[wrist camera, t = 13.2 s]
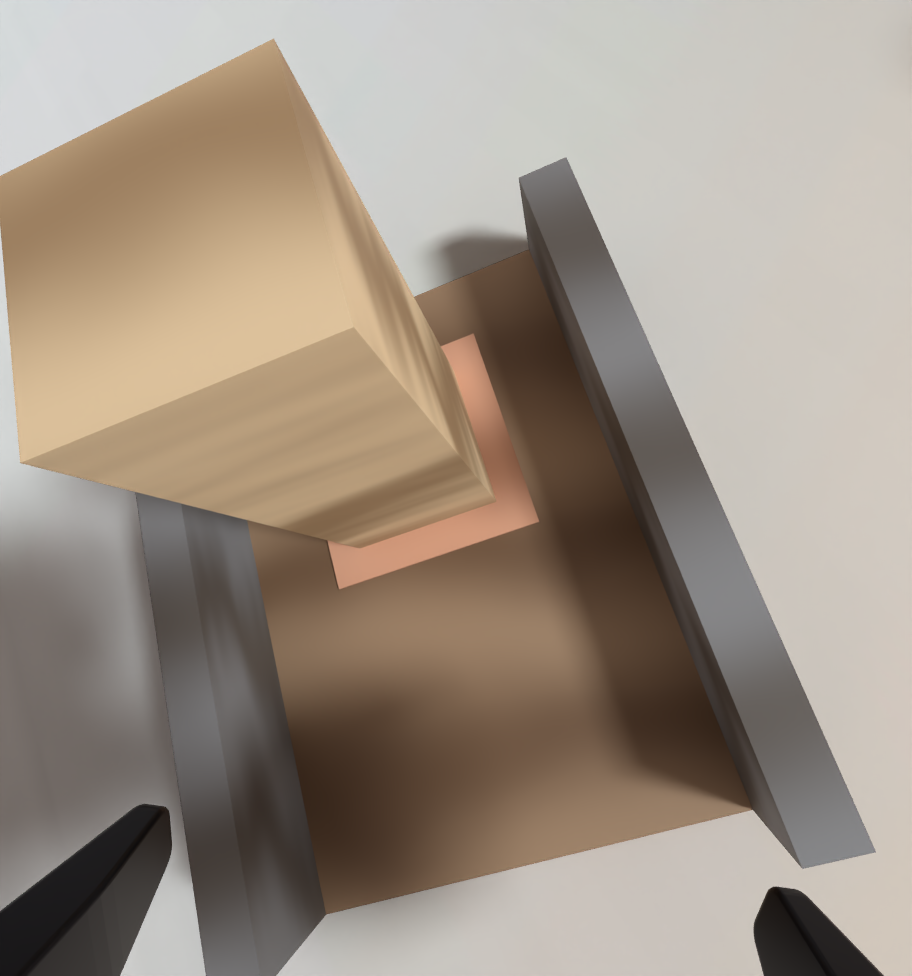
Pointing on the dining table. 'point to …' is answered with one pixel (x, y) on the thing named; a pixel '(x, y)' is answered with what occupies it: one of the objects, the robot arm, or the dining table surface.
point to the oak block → (228, 320)
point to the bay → (485, 639)
